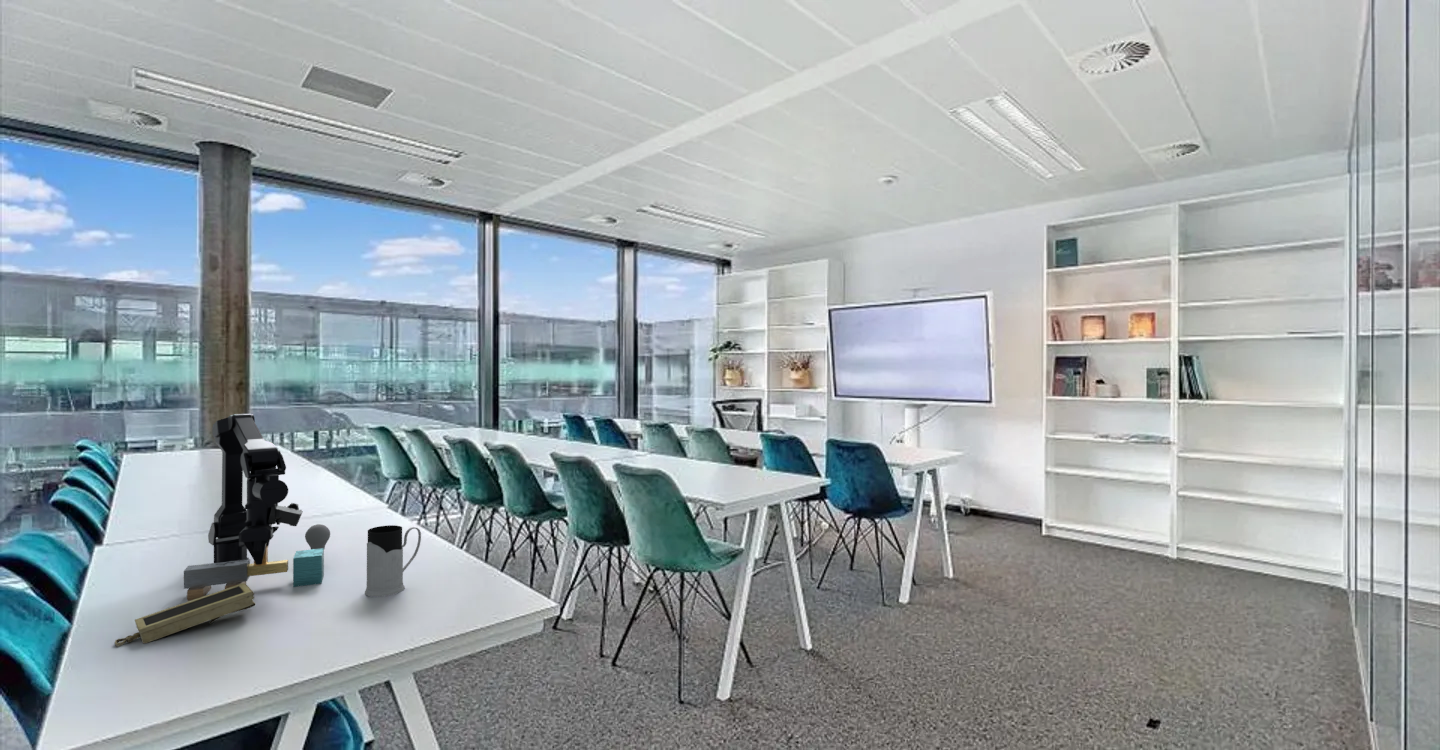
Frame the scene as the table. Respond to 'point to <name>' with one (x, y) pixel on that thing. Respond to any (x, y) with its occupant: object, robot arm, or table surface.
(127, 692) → the table surface
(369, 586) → the glass holder
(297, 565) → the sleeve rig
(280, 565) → the yellow sliding bolt
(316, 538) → the light bulb
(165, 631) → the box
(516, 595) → the table surface
